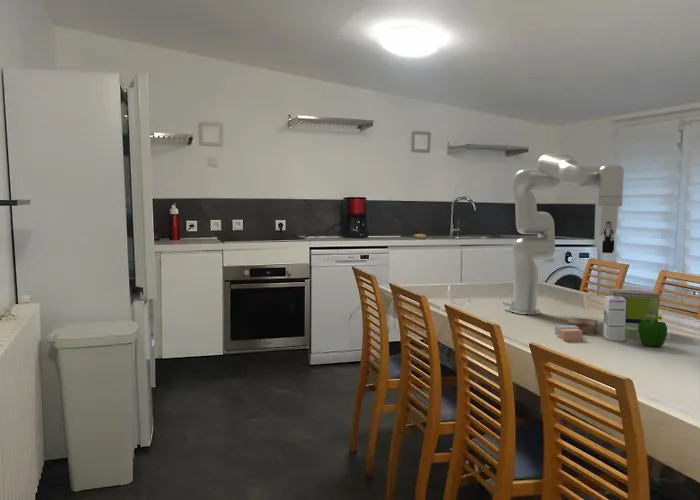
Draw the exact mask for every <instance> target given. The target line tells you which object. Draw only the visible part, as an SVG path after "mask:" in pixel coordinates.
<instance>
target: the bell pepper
mask: <svg viewBox="0 0 700 500" xmlns="http://www.w3.org/2000/svg"><path fill="white" fill-rule="evenodd" d="M662 318H663V317H662V316H661V315H658V316H656V317H653V319H652V320H651V321H647V320H642V321H640V323H639V325H638V331H639V336H638V338H639V341H640V342H641V345H643V346H646V347H650V348H651V347H654V348H655V347H662V346H663V345H664V343H665V342H666V338H667V336H668V335H667V334H668V327H667V324H666V322H664V321H658V322H655V320H656V319H658V320H662Z"/></svg>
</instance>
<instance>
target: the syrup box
mask: <svg viewBox="0 0 700 500" xmlns="http://www.w3.org/2000/svg"><path fill="white" fill-rule="evenodd" d="M603 307H604V308H603V331H602V332H603V333H602V337H603V338H604V339H606V340H607V341H610V342H611V341H613V342H625V340H626V338H625V320H626V299H625V298H623V297H620V296H610V295H605V296H604V304H603Z"/></svg>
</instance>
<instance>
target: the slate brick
mask: <svg viewBox="0 0 700 500" xmlns="http://www.w3.org/2000/svg"><path fill="white" fill-rule="evenodd" d="M573 328H577V329H579V327H577V326H575V325H567V324H566V325H564V324H562V325H561V324H560V325H559V324H558V325H555V326H554V335H555V334H556V335H558V329H573ZM556 335H555V336H556Z"/></svg>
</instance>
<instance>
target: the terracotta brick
mask: <svg viewBox="0 0 700 500" xmlns="http://www.w3.org/2000/svg"><path fill="white" fill-rule="evenodd" d="M582 333H583V331H582V330H579V329H577V328H573V329H558V336H557V339H558V338H560V339H562V340H578V341H583V334H582ZM560 339H559V340H560ZM562 340H561V341H562Z"/></svg>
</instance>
